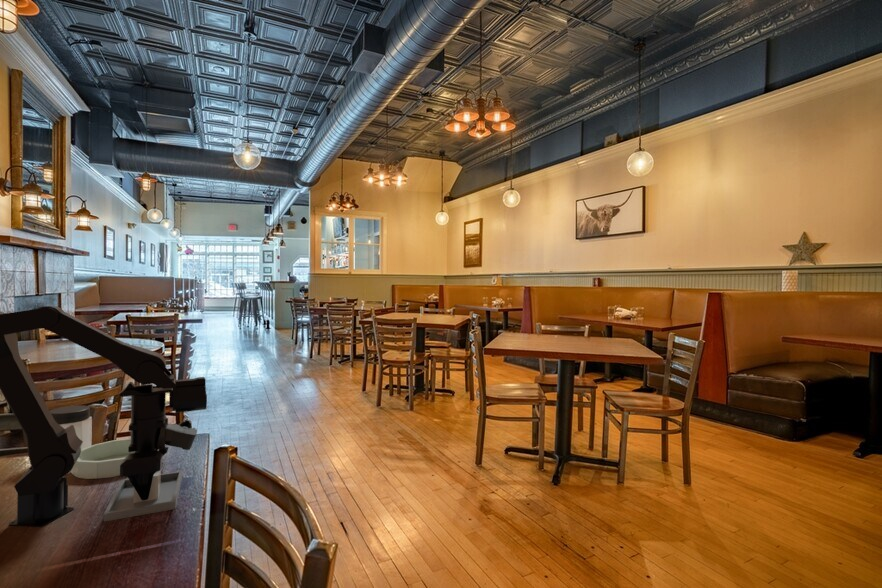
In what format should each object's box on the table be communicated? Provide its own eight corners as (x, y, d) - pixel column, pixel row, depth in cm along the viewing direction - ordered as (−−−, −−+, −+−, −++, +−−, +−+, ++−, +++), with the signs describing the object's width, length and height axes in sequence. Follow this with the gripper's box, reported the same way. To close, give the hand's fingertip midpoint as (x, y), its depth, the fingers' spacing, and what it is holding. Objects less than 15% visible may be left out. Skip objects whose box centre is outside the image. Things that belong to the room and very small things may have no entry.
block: (157, 498, 87) (158, 475, 87) (133, 502, 85) (133, 479, 85) (160, 490, 90) (160, 468, 90) (137, 494, 88) (137, 471, 88)
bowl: (122, 481, 95) (122, 463, 95) (53, 478, 96) (53, 460, 96) (171, 454, 111) (172, 439, 111) (112, 452, 112) (112, 437, 112)
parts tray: (175, 510, 83) (175, 501, 83) (103, 523, 78) (103, 514, 78) (182, 478, 97) (182, 470, 97) (122, 487, 92) (122, 479, 92)
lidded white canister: (44, 467, 102) (45, 416, 102) (43, 457, 108) (44, 409, 108) (93, 457, 109) (93, 409, 109) (89, 449, 115) (90, 403, 115)
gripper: (191, 423, 83) (190, 505, 83) (196, 401, 99) (195, 470, 99) (119, 430, 78) (118, 518, 78) (138, 406, 94) (136, 478, 94)
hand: (147, 493), depth 87 cm, fingers open, 5 cm apart
